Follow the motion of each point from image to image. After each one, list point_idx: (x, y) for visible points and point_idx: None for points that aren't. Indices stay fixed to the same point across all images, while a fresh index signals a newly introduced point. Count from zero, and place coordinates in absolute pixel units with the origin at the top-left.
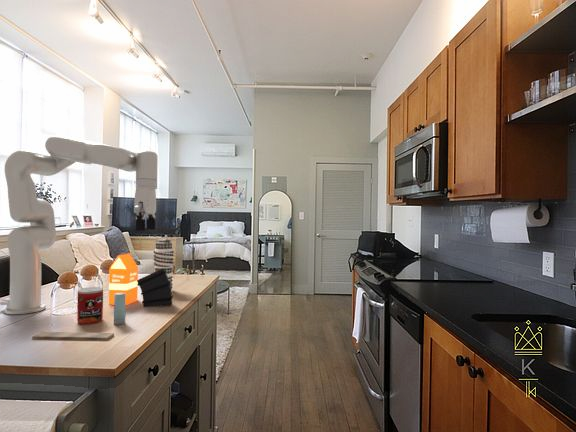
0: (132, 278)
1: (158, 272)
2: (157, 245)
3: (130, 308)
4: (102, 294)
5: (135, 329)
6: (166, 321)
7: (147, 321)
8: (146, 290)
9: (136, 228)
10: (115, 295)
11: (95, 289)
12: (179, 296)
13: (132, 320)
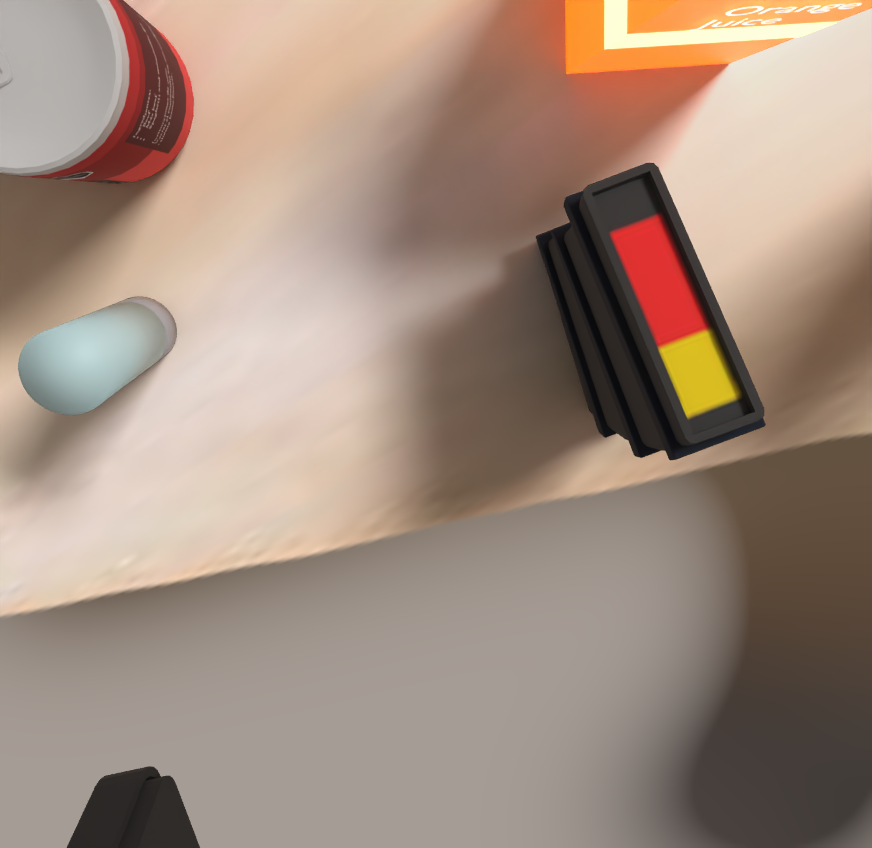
0: (754, 18)
1: (665, 400)
2: None
3: (481, 171)
4: (79, 170)
5: (85, 482)
6: (272, 556)
7: (238, 460)
8: (577, 271)
9: (89, 826)
10: (19, 362)
11: (63, 72)
12: (866, 329)
13: (227, 364)
